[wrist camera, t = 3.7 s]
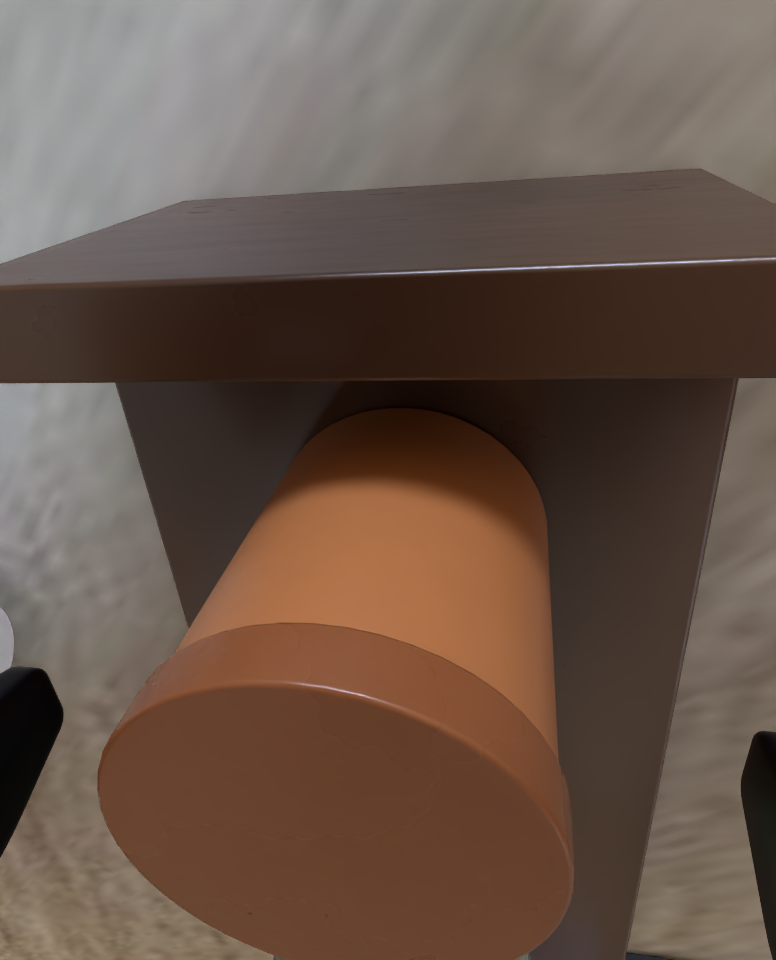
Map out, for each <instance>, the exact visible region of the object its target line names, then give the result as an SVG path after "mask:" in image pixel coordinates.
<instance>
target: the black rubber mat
mask: <svg viewBox="0 0 776 960" xmlns="http://www.w3.org/2000/svg"><path fill="white" fill-rule="evenodd" d="M625 960H670V959H664V958H657V957H650V956H643V955H637V954H630V953H626V957H625Z"/></svg>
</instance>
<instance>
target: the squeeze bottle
mask: <svg viewBox="0 0 776 960" xmlns="http://www.w3.org/2000/svg"><path fill="white" fill-rule="evenodd" d="M13 651H14V636H13V630H12V626H11V623H10V621H9V619H8V616H7V615H6V613H5V612H4V611H3V609H1V608H0V673H2V672H4V671H5V670H7V669H9V668H10V667H11V663H12V659H13Z"/></svg>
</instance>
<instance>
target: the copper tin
mask: <svg viewBox="0 0 776 960" xmlns="http://www.w3.org/2000/svg"><path fill="white" fill-rule="evenodd" d="M97 791H98V797H99V802H100V807H101V811H102V813H103V816H104V819H105V821H106V824H107V827H108V828H109V830H110V832H111V834H112V836H113V837H114V839H115V841H116V843H117V844H118V846H119V847H120V849H121V850H122V851H123V853H124V854H125V855H126V857H127V858H128V859H129V861H130V862H131V863H132V864H133V865H134V866H135V867H136V868H137V869H138V871H139V872H140V873H141V874H142V875H143V876H144V877H145V878H146V879H147V880H148V881H149V882H150V883H151V884H153V885H154V886H155V887H156V888H157V889H158V890H159V891H160V892H162V893H163V894H164V895H165V896H167V897H168V898H169V899H171V900H172V901H173V902H175V903H176V904H177V905H178V906H180V907H181V908H183V909H184V910H186V911H187V912H189V913H190V914H192V915H193V916H195V917H196V918H198V919H200V920H201V921H203V922H204V923H206V924H208V925H210V926H212V927H213V928H215V929H217V930H219V931H221V932H223V933H224V934H226V935H228V936H231V937H233V938H235V939H237V940H239V941H241V942H243V943H245V944H248V945H250V946H252V947H255V948H257V949H260V950H262V951H265V952H267V953H270V954H272V955H275V956H278V957H281V958H284V959H287V960H517V959H519V958H520V957H522V956H524V955H525V954H527V953H529V952H531V951H532V950H534V949H535V948H536V947H538V946H539V945H540V944H541V943H543V942H544V941H545V940H546V939H547V938H549V937H550V935H551V934H552V933H553V932H554V930H555V929H556V928H557V927H558V926H559V924H560V923H561V921H562V919H563V917H564V915H565V913H566V911H567V909H568V907H569V905H570V902H571V898H572V894H573V890H574V885H575V864H574V848H573V832H572V817H571V801H570V795H569V791H568V787H567V782H566V778H565V776H564V774H563V771H562V769H561V767H560V764H559V760H558V739H557V719H556V698H555V678H554V657H553V637H552V616H551V596H550V575H549V555H548V534H547V519H546V514H545V509H544V505H543V502H542V499H541V497H540V494H539V491H538V489H537V487H536V485H535V483H534V482H533V480H532V478H531V476H530V475H529V473H528V472H527V470H526V469H525V468H524V466H523V465H522V464H521V462H520V461H519V460H518V459H517V458H516V457H515V456H514V455H513V454H512V453H511V452H510V451H509V450H508V449H507V448H506V447H505V446H503V445H502V444H501V443H500V442H498V441H497V440H496V439H495V438H493V437H492V436H491V435H489V434H487V433H486V432H484V431H482V430H481V429H479V428H477V427H476V426H474V425H471V424H469V423H467V422H465V421H462V420H460V419H458V418H455V417H452V416H449V415H445V414H442V413H439V412H434V411H428V410H423V409H414V408H387V409H378V410H372V411H367V412H362V413H359V414H356V415H353V416H350V417H347V418H344V419H342V420H340V421H338V422H336V423H334V424H332V425H330V426H328V427H327V428H325V429H324V430H322V431H321V432H320V433H318V434H317V435H315V436H314V437H313V438H312V439H311V440H310V441H309V442H308V443H307V444H306V445H304V447H303V448H302V449H301V450H300V452H299V453H298V454H297V455H296V457H295V458H294V460H293V461H292V463H291V465H290V466H289V468H288V469H287V471H286V473H285V474H284V476H283V477H282V479H281V481H280V482H279V484H278V486H277V487H276V489H275V490H274V492H273V494H272V495H271V497H270V499H269V500H268V502H267V503H266V505H265V507H264V508H263V510H262V511H261V513H260V515H259V516H258V518H257V520H256V521H255V523H254V524H253V526H252V528H251V529H250V531H249V532H248V534H247V536H246V537H245V539H244V541H243V542H242V544H241V545H240V547H239V549H238V550H237V552H236V554H235V555H234V557H233V558H232V560H231V562H230V563H229V565H228V566H227V568H226V570H225V571H224V573H223V575H222V576H221V578H220V579H219V581H218V583H217V584H216V586H215V588H214V589H213V591H212V592H211V594H210V596H209V597H208V599H207V600H206V602H205V604H204V605H203V607H202V609H201V610H200V612H199V613H198V615H197V617H196V618H195V620H194V621H193V623H192V625H191V626H190V628H189V630H188V631H187V633H186V634H185V636H184V638H183V639H182V641H181V643H180V644H179V646H178V647H177V649H176V651H175V652H174V654H173V655H172V656H171V657H170V658H168V659H167V660H166V661H165V662H163V663H162V664H161V665H160V666H158V667H157V668H156V670H155V671H154V672H153V673H152V674H151V676H150V677H149V678H148V679H147V680H146V682H145V683H144V684H143V686H142V688H141V689H140V691H139V692H138V694H137V695H136V697H135V699H134V700H133V702H132V703H131V705H130V706H129V708H128V709H127V711H126V713H125V714H124V716H123V717H122V719H121V720H120V722H119V724H118V725H117V727H116V728H115V730H114V731H113V733H112V735H111V737H110V738H109V740H108V742H107V744H106V746H105V748H104V750H103V752H102V756H101V760H100V764H99V768H98V787H97Z"/></svg>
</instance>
